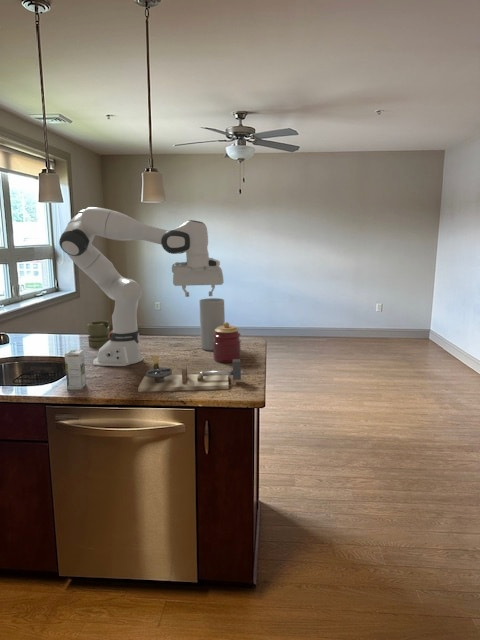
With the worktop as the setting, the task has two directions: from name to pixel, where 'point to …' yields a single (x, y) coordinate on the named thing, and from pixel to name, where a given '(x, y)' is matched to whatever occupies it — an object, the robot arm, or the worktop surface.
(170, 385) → the board
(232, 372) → the hammer
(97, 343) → the olive green mug
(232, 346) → the canister
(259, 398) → the worktop surface
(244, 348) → the worktop surface
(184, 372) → the eye post
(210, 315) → the cylinder vase
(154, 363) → the handwheel
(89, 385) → the worktop surface
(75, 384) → the syrup box
